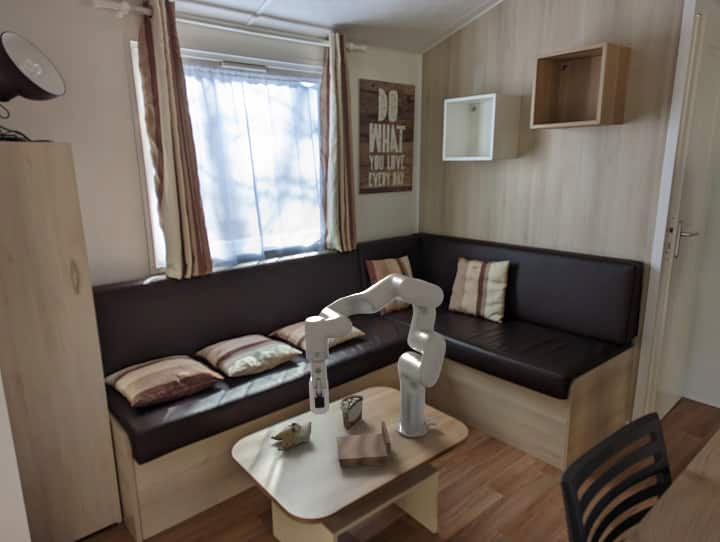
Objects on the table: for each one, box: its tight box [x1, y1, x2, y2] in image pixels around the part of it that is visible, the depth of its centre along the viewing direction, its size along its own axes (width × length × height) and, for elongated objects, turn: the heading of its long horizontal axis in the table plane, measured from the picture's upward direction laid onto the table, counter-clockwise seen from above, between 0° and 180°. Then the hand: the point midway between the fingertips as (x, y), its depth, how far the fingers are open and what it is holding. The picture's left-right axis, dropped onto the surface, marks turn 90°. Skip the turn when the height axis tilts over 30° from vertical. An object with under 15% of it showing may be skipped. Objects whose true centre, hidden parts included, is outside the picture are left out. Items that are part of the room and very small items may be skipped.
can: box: [308, 376, 330, 415], centre depth 172 cm, size 6×6×12 cm
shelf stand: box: [336, 420, 392, 469], centre depth 180 cm, size 18×14×9 cm
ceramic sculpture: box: [270, 421, 312, 452], centre depth 189 cm, size 11×9×15 cm
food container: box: [339, 394, 364, 431], centre depth 202 cm, size 12×6×10 cm, turn 149°
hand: (319, 401), depth 173 cm, fingers closed on can, 6 cm apart
